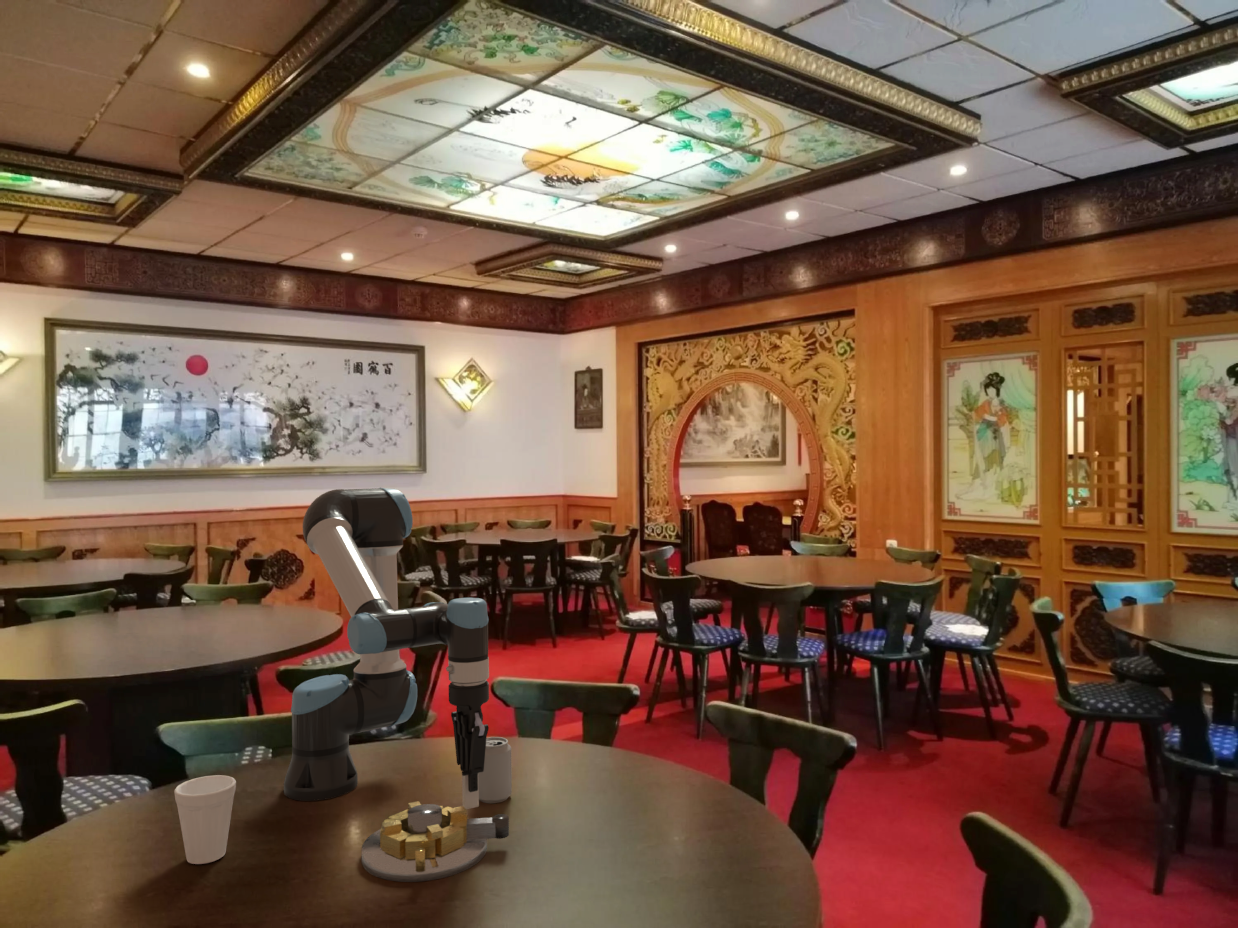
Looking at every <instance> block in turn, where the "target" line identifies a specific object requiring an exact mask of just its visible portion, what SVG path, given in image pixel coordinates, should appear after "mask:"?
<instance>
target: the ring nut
mask: <svg viewBox="0 0 1238 928" xmlns="http://www.w3.org/2000/svg"><path fill="white" fill-rule="evenodd" d="M418 805H422V803H421V802H420V801H419V800H418V801H413V802H408V803H407V809H405V810H403V811H400V812H397V813H395V814H392V815H390V816H387V819H384V820H383V822H382V823H381V828H380V829H381V830H380V829H379V830H380V848H382V851H384V852H386V853H388V854H391V855H393V856H395V857H397V858H402V857H404V856H406V859H415V851H416V850H417V849H419V848H423V849H425V858H435V856H436V854H438V855H440V856H443V855H445V854H447V853H449V852H451V851H453V850H456V849H458V848H460V847H462V846H464V843H467V840H473V839H487V840H489V839H497V840H498V839H499V840H500V839H505V838H508V837H509V836H510V816H509V815H508V814H504V813H500V814H495V815H493V816H492V817H480V818H479V817H478V818H477V817H476V818H469V814H468V811H467V810H468V809H466V808H465V807H464V806H462V805H460V806H457V807H451V806H445V807H443V806H444V805H439V806H440V807H441V808H442V828H441V827H440V826H439V825H438V824H436V825H431V826H427V833H422V834H410V833H408V811H409V809H411V808H412V807H415V806H418Z"/></svg>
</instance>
